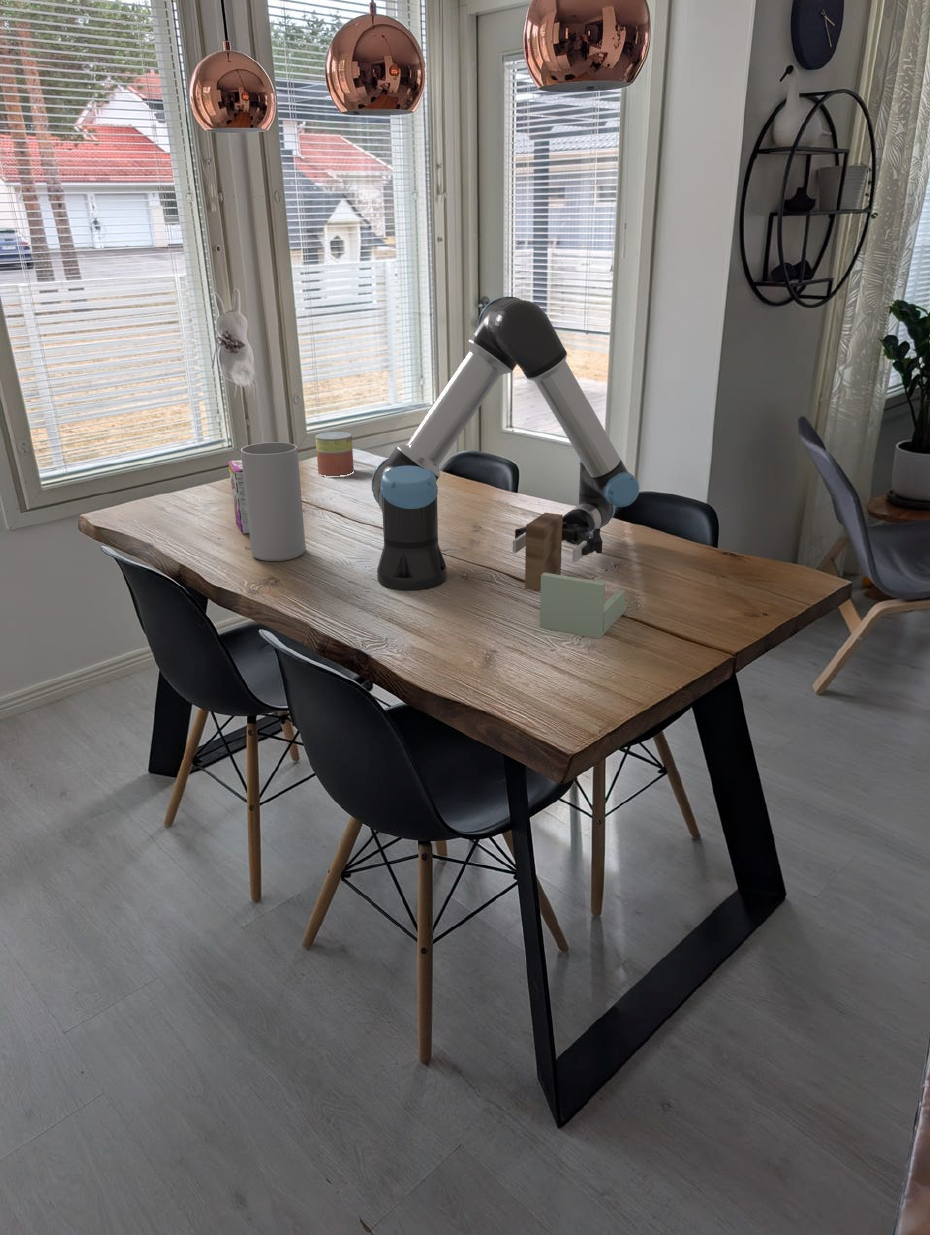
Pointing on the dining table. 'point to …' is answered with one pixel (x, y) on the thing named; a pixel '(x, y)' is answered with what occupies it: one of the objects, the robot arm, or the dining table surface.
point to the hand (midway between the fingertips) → (543, 551)
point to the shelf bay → (578, 605)
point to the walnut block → (542, 549)
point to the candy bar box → (239, 495)
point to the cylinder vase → (273, 500)
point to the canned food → (334, 453)
